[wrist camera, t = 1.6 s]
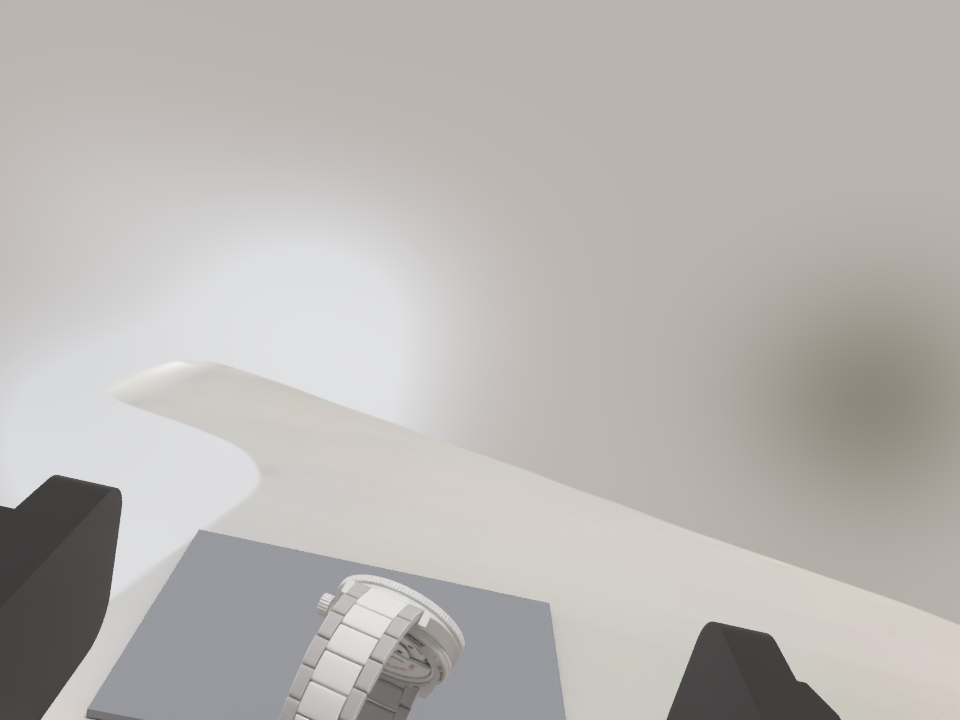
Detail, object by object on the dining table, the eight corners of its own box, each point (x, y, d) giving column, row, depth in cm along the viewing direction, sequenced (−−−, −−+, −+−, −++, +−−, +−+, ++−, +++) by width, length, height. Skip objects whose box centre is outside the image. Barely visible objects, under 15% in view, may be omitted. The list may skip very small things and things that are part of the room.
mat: (547, 609, 48) (549, 603, 48) (575, 810, 35) (577, 802, 35) (198, 535, 46) (199, 529, 46) (86, 716, 33) (87, 708, 33)
